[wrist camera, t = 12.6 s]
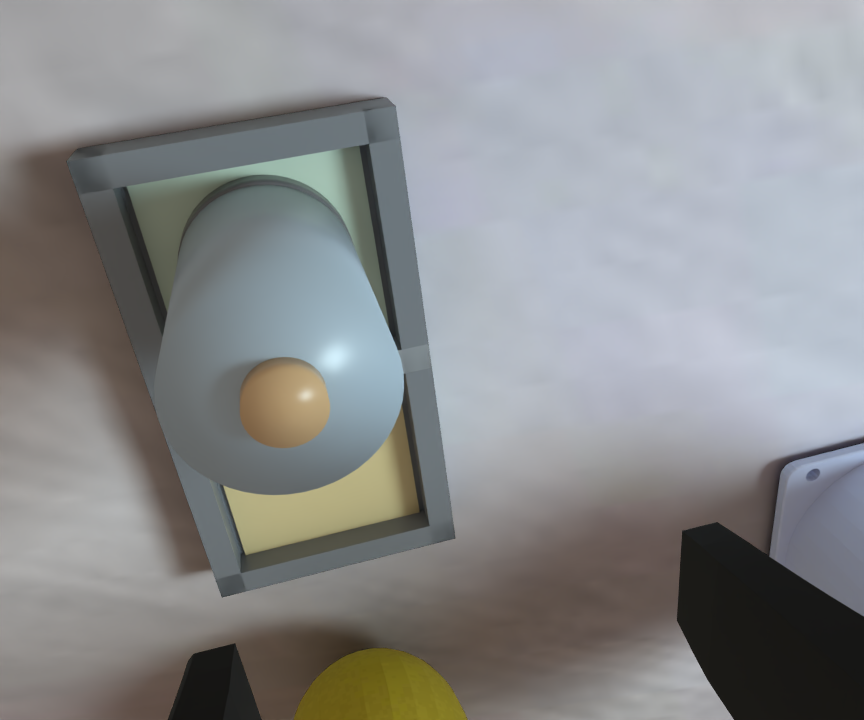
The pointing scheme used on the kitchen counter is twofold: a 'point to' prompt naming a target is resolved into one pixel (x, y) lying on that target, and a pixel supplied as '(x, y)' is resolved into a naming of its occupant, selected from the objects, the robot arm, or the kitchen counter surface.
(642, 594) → the kitchen counter surface
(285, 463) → the cell
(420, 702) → the lemon
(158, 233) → the checker tray
